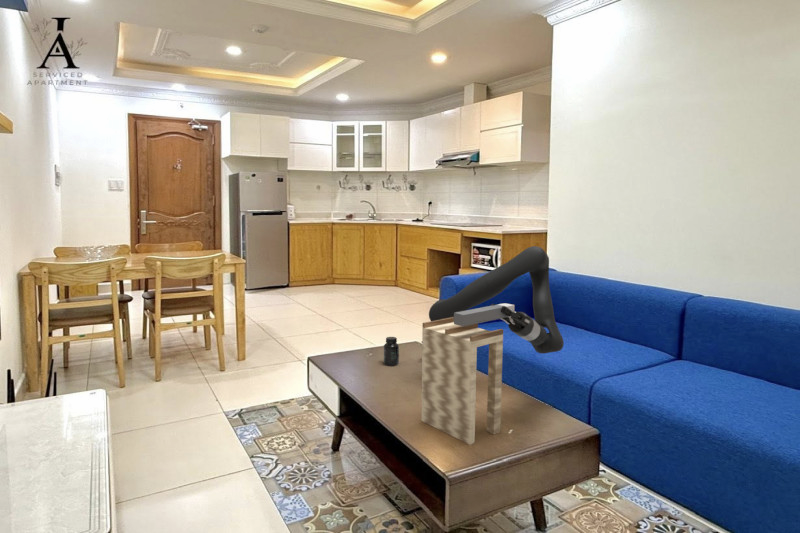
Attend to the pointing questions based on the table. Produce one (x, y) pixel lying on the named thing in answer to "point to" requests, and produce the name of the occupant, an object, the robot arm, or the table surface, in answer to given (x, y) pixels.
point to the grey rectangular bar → (480, 314)
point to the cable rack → (458, 377)
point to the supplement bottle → (391, 352)
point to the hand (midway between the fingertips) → (497, 307)
